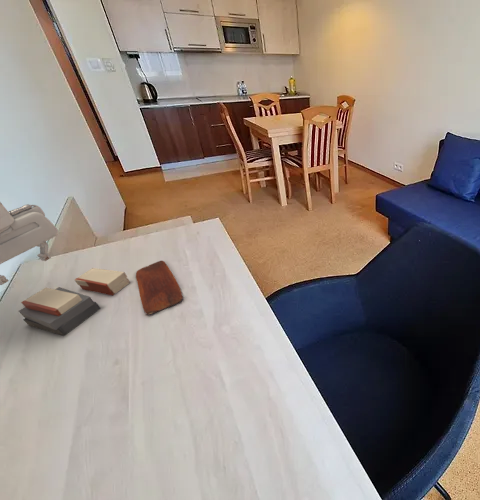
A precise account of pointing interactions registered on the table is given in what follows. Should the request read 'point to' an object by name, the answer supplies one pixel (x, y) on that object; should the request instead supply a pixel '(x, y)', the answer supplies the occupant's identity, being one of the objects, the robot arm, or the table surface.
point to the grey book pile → (61, 316)
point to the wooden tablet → (157, 287)
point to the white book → (52, 301)
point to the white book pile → (103, 281)
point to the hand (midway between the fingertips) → (26, 270)
